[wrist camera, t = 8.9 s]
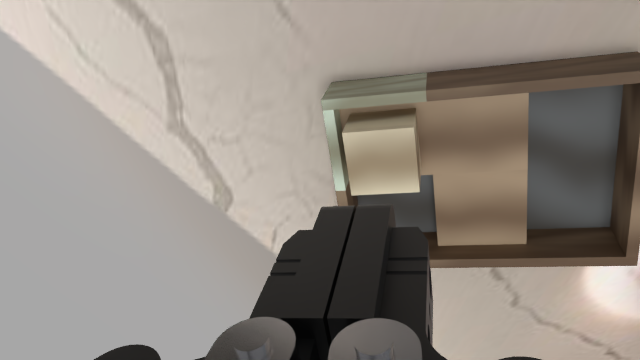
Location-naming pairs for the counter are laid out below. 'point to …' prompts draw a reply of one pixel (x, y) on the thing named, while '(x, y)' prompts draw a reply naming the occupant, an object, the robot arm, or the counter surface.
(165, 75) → the counter surface
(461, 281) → the counter surface
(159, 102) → the counter surface
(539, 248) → the tray
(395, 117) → the maple block
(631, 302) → the counter surface
